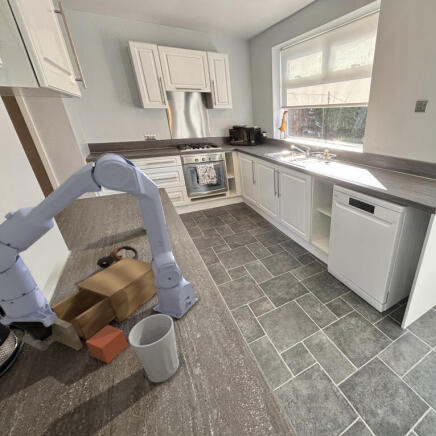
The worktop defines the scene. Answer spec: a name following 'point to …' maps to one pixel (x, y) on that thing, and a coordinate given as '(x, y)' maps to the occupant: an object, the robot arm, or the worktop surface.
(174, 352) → the cup
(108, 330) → the block
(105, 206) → the worktop surface
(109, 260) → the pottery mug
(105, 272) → the cabinet
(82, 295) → the drawer
